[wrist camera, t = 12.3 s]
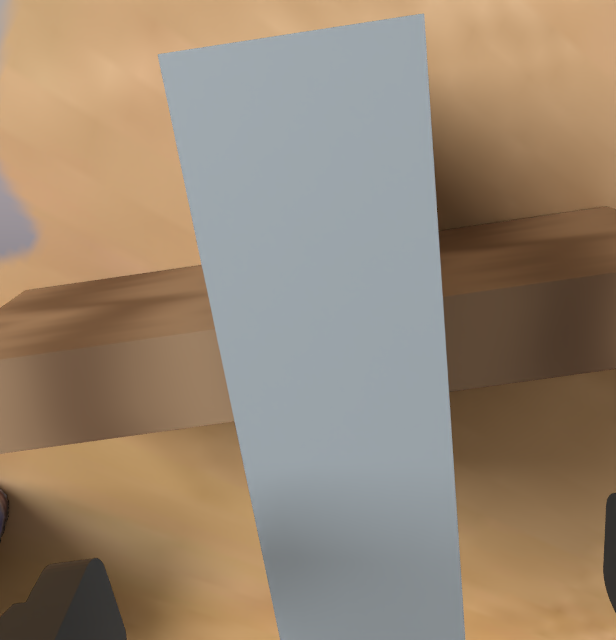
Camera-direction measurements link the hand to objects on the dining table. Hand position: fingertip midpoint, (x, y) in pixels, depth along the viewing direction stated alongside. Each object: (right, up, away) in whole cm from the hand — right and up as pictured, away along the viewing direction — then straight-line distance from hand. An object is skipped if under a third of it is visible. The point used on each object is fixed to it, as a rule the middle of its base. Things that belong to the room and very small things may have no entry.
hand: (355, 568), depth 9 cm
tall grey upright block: (0, +6, +15) cm, 16 cm away
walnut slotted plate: (0, +5, +15) cm, 16 cm away
